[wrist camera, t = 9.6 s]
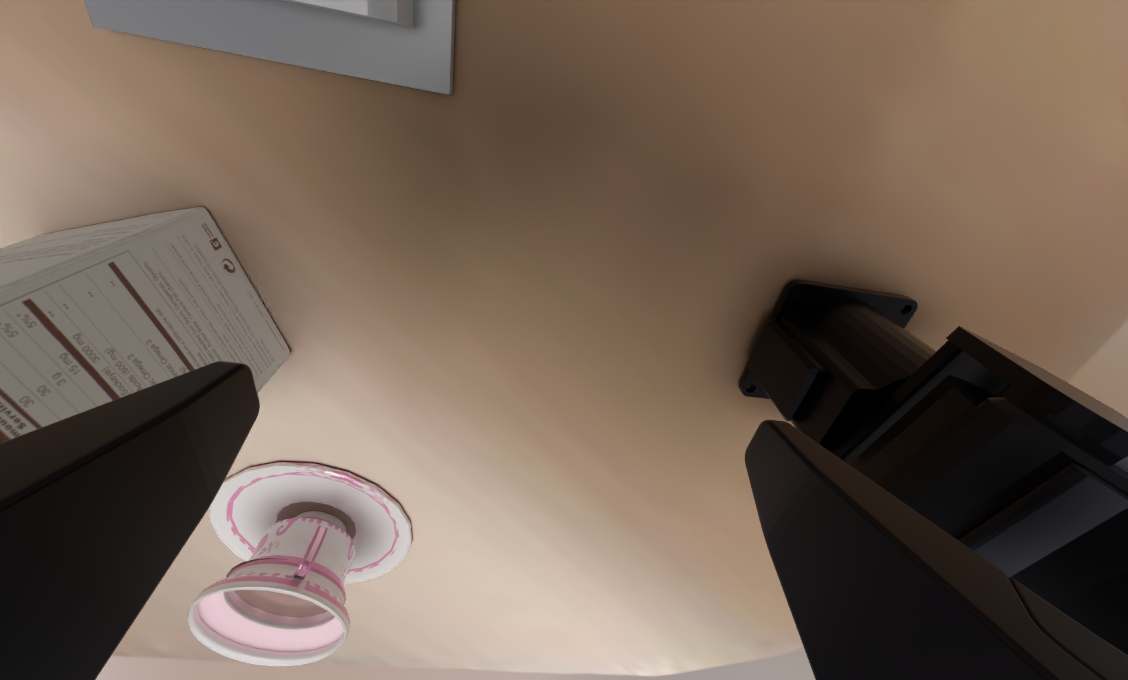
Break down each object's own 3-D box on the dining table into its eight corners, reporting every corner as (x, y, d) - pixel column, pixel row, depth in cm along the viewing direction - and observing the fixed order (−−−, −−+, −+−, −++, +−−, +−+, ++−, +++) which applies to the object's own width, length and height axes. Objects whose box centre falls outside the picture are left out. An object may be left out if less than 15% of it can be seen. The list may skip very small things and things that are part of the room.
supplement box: (154, 377, 21) (-243, 688, 10) (36, 231, 17) (-787, 486, 7) (299, 355, 21) (43, 652, 10) (211, 201, 17) (-351, 420, 6)
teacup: (374, 592, 32) (341, 694, 27) (196, 544, 28) (118, 651, 23) (444, 502, 27) (420, 604, 22) (240, 428, 23) (152, 531, 18)
